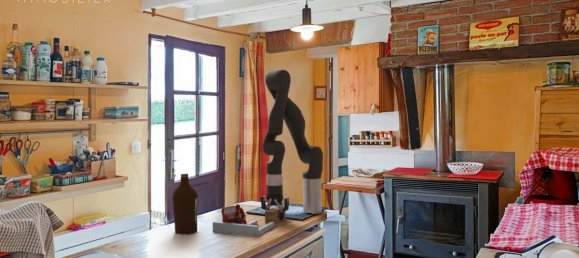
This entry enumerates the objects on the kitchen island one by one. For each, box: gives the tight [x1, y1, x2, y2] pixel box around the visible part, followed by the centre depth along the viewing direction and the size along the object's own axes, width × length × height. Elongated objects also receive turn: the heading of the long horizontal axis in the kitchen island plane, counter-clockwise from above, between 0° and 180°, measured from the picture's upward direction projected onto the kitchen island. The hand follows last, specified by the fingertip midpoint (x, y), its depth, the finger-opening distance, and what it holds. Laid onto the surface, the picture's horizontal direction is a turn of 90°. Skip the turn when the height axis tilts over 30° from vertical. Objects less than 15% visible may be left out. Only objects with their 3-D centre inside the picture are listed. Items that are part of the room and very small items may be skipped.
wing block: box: [264, 206, 286, 225], centre depth 214 cm, size 12×4×6 cm, turn 155°
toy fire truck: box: [220, 203, 248, 225], centre depth 203 cm, size 7×12×10 cm, turn 134°
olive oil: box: [171, 173, 199, 235], centre depth 198 cm, size 11×11×25 cm
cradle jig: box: [212, 219, 276, 237], centre depth 202 cm, size 16×22×4 cm
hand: (275, 219), depth 214 cm, fingers open, 6 cm apart
